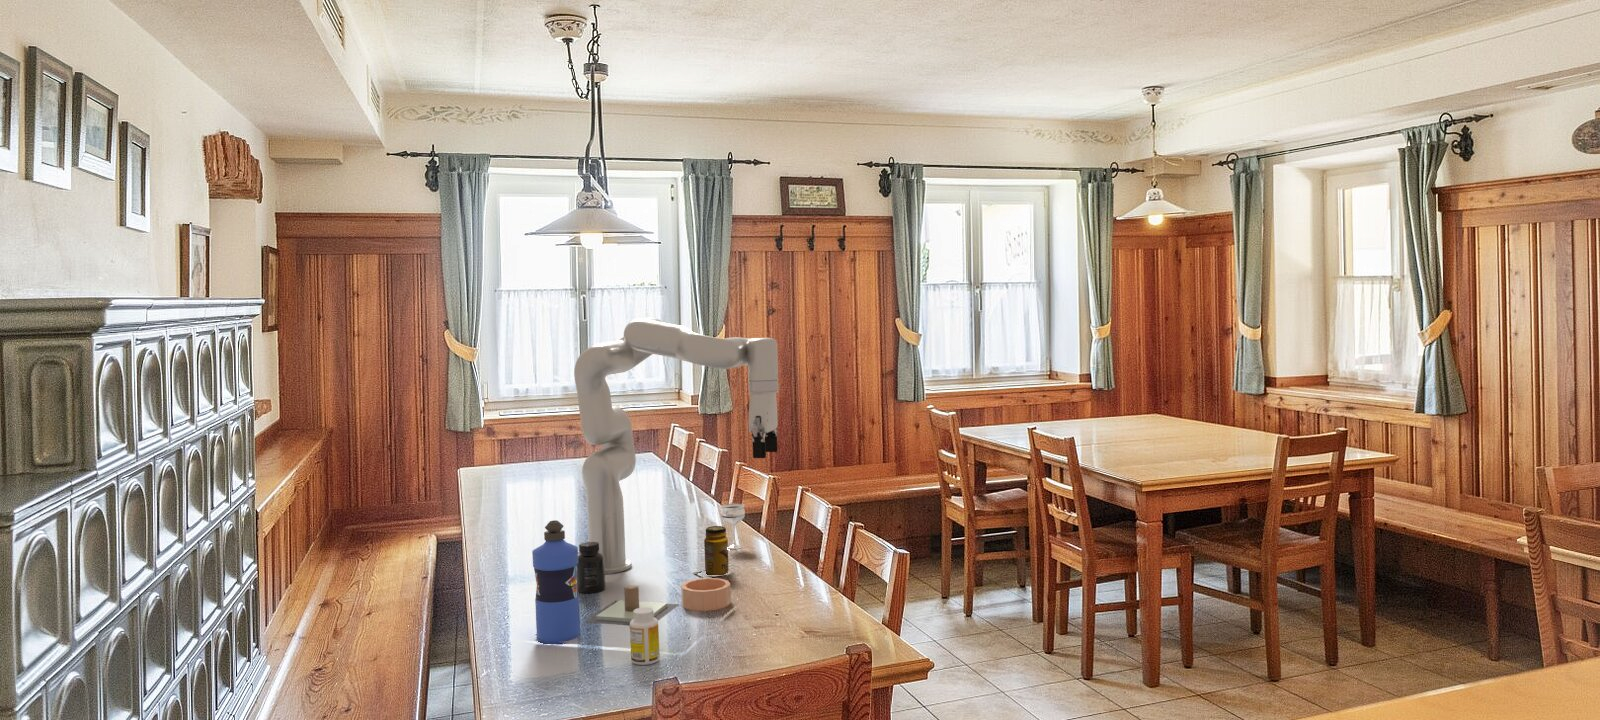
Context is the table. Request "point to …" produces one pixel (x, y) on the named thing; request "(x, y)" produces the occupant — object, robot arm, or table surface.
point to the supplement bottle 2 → (644, 637)
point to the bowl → (706, 594)
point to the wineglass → (733, 517)
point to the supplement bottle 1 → (590, 569)
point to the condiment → (716, 551)
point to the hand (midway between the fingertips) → (765, 454)
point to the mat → (658, 617)
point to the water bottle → (556, 587)
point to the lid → (628, 606)
